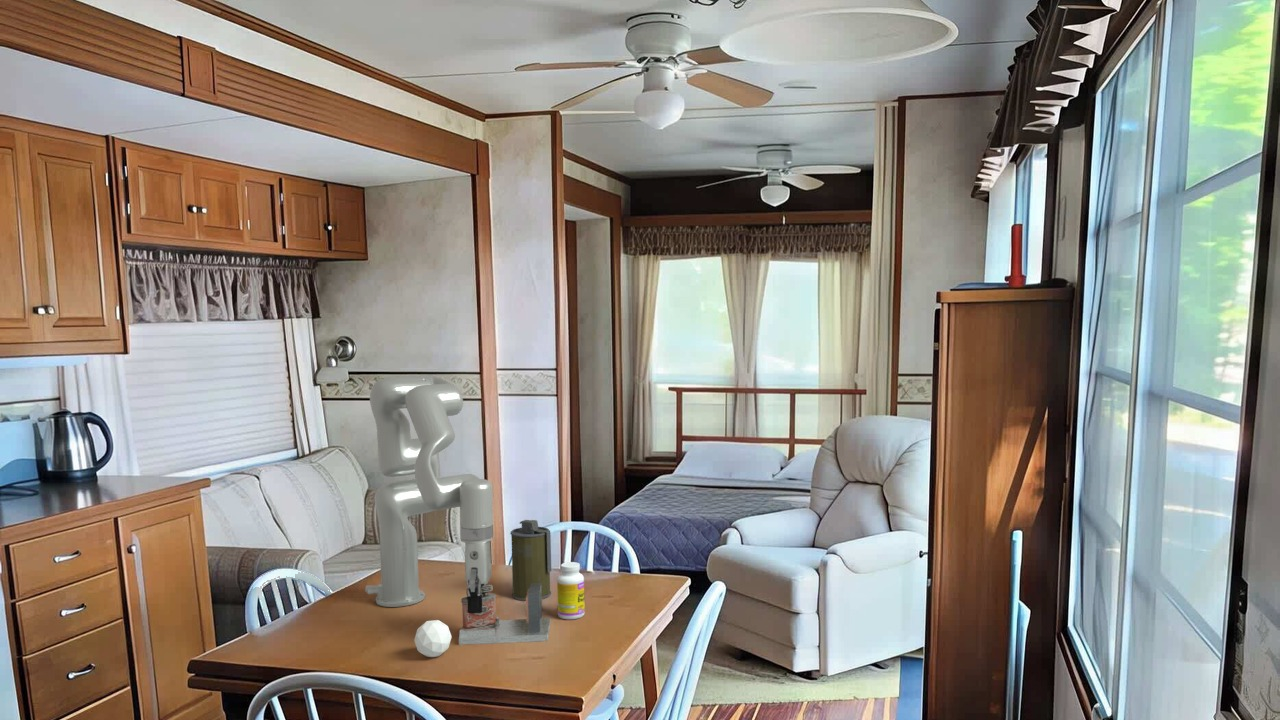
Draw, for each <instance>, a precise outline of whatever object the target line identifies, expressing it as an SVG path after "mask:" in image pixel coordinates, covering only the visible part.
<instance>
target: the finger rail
mask: <svg viewBox="0 0 1280 720" xmlns="http://www.w3.org/2000/svg"><path fill="white" fill-rule="evenodd" d="M542 600H543V599H542V591H541V583H536V584H531V585H530V589H528V591H527V595H526V601H525V612H526V613H525V614H526V615H525V616H526V618H522V619H500V617H499V616H496V622H497V627H496V628H484V629H462V628H460V629H459V631H458V632H459V637H458V645H459V646H461V645H463V646H464V645H482V644H483V645H485V644H486V645H488V644H507V643H508V644H509V643H510V644H511V643H512V644H513V643H532V642H548V640H549V633H550V627H551V618H550V617H546V618H545V617H544V618H543V601H542Z"/></svg>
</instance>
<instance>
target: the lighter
mask: <svg viewBox="0 0 1280 720" xmlns="http://www.w3.org/2000/svg"><path fill="white" fill-rule="evenodd" d="M476 587H477V588H478V586H476ZM493 589H494V588H493V585H492V584H488V585H484V586H482V587H481V595H482V612H481V613H468V601H467V596H468V588H466V589H465V591H466V592H465V593H466V596H465V597H462V598H461V601H460V602H461V606H462V609H461V610H462V626H461V629H484V628H496V627H497V622H496V617H497V616H496V615H497V614H496V613H497V612H496V611H497V610H496V598H497V594H496V593H491V592H492V591H493ZM487 591H488V592H490V593H488V594H487ZM482 592H484V594H482Z"/></svg>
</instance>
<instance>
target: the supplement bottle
mask: <svg viewBox="0 0 1280 720" xmlns="http://www.w3.org/2000/svg"><path fill="white" fill-rule="evenodd" d="M580 569H581V565H580V563H579V562H576V561H575V562H574V561H570V562H564V563H561V565H560V570H561V573H560V574H559V575H558V576H557V580H556V583H557V584H556V585H557V586H556V587H557V588H556V589H557V615H558V616H557V617H559V618H560V619H562V620H570V621H571V620H577V619H581V618H582V617H584V616H585V613H586V612H585V611H586V609H585V607H586V605H585V604H586V603H585V577H584V575H583V574H582V573H580Z"/></svg>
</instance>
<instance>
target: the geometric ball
mask: <svg viewBox="0 0 1280 720" xmlns="http://www.w3.org/2000/svg"><path fill="white" fill-rule="evenodd" d="M452 638H453V637H452V633H451V631H450V629H449V626H448V625H447V624H445V623H444V622H442V621H440V620H439V619H436V620H434V619H433V620H426V621H425V622H424V623H423V624H422V625H421V626H419V627H418V628H417V630H416V632H415V637H414V643H415V646H416V649H417V652H418V653H420V654H422V656H423V655H424V656H425V657H426V658H437V657H440V656H441V655H442V654H444V652H446V651H447V650H448V649H450V648H449V647H450V644H451V640H452Z"/></svg>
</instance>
